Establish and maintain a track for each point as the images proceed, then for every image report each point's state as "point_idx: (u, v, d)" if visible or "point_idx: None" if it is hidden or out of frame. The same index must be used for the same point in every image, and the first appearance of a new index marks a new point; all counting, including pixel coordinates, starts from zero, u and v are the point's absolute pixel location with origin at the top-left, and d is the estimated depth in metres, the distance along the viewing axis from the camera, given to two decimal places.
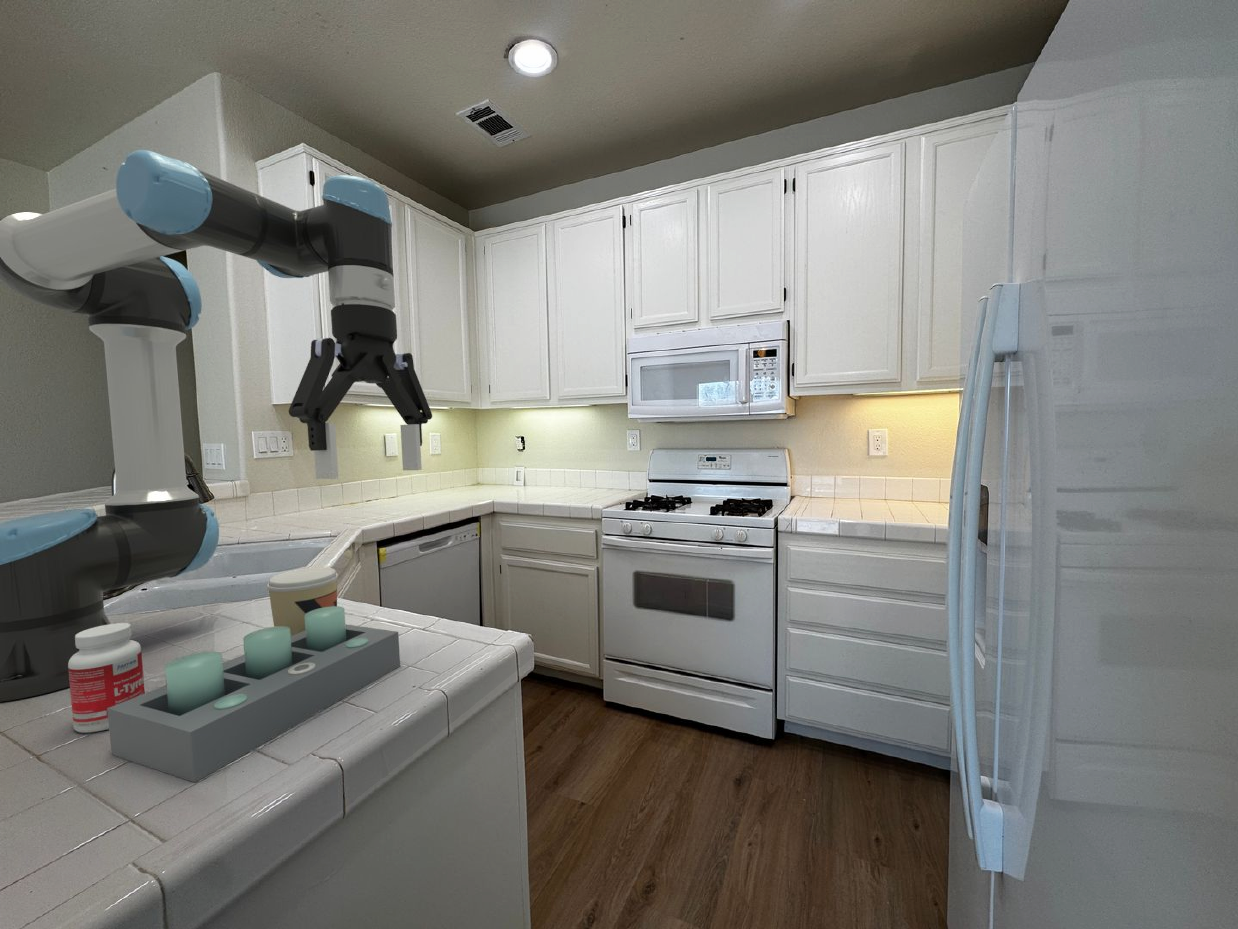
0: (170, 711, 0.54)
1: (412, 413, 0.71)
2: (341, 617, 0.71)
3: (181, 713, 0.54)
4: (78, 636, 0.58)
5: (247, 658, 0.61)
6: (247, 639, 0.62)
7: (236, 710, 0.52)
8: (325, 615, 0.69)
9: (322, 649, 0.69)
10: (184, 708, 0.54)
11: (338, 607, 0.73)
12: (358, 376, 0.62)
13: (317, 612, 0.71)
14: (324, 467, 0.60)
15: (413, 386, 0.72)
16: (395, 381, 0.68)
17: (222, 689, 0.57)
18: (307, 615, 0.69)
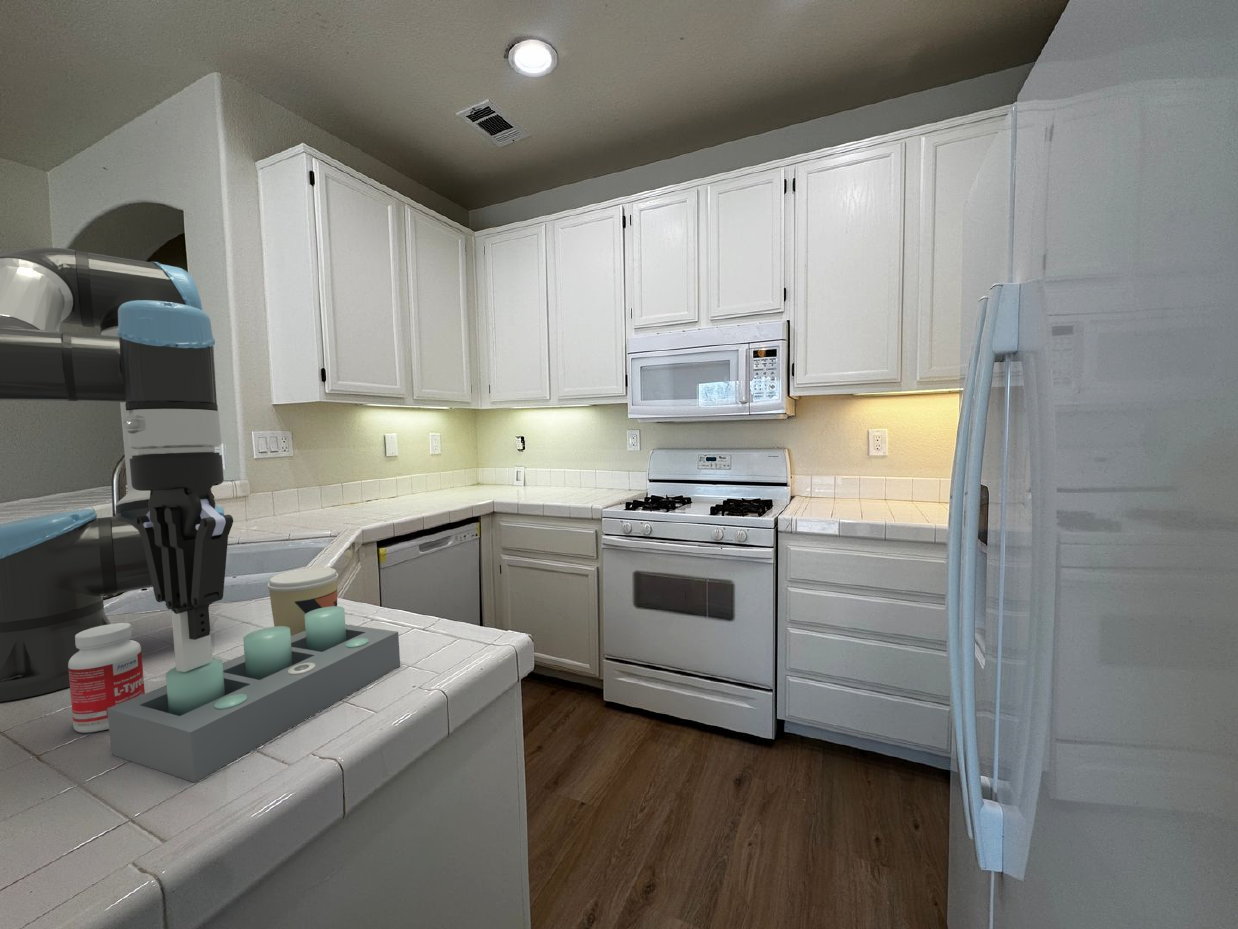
0: None
1: (180, 590, 0.54)
2: (341, 617, 0.71)
3: None
4: (78, 636, 0.58)
5: (247, 658, 0.61)
6: (247, 639, 0.62)
7: (236, 710, 0.52)
8: (325, 615, 0.69)
9: (322, 649, 0.69)
10: None
11: (338, 607, 0.73)
12: (160, 541, 0.54)
13: (317, 612, 0.71)
14: None
15: (195, 556, 0.53)
16: (170, 542, 0.53)
17: None
18: (307, 615, 0.69)
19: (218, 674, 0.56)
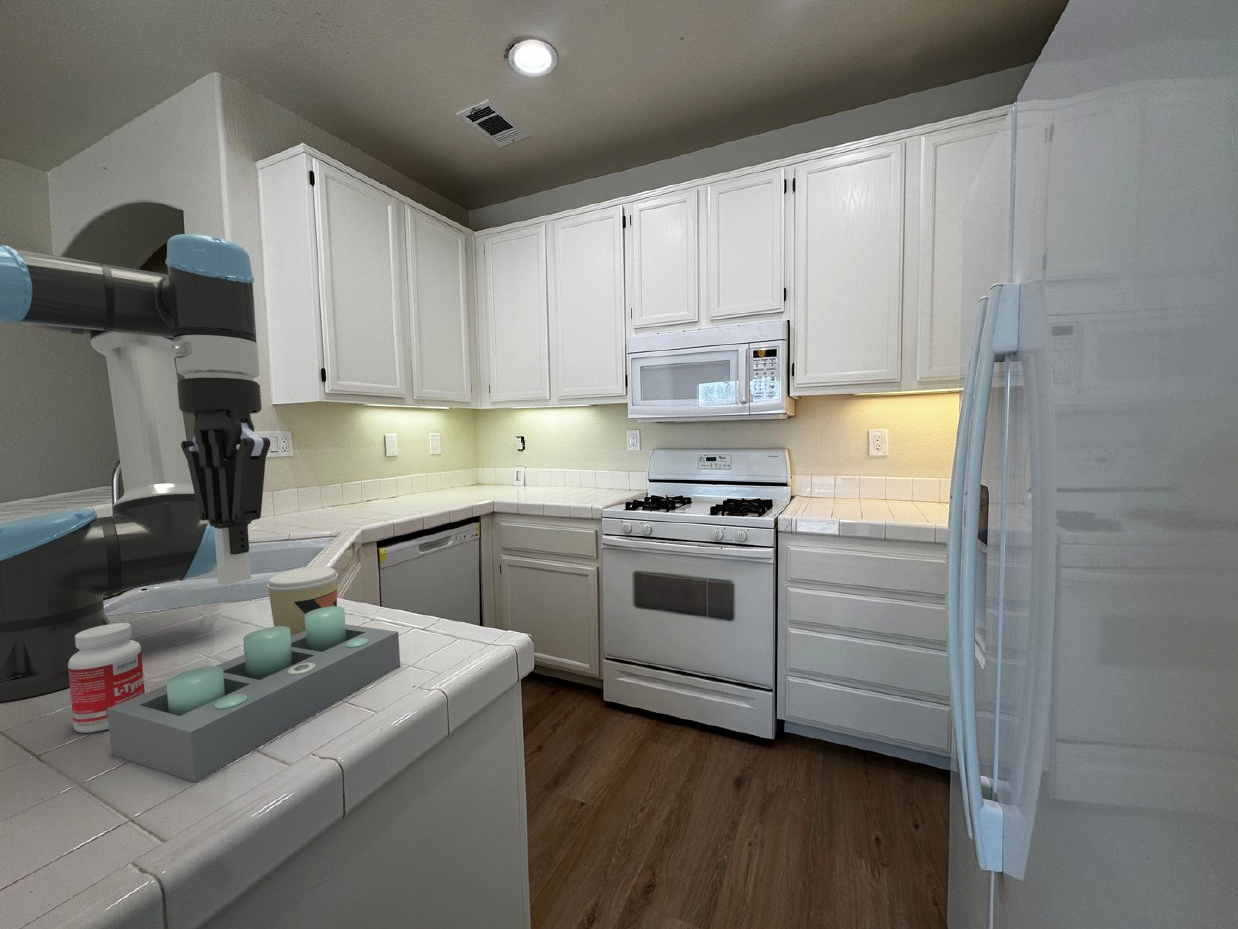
0: None
1: None
2: (341, 617, 0.71)
3: None
4: (78, 636, 0.58)
5: (247, 658, 0.61)
6: (247, 639, 0.62)
7: (236, 710, 0.52)
8: (325, 615, 0.69)
9: (322, 649, 0.69)
10: None
11: (338, 607, 0.73)
12: (204, 462, 0.58)
13: (317, 612, 0.71)
14: None
15: (236, 474, 0.57)
16: (213, 461, 0.57)
17: None
18: (307, 615, 0.69)
19: (219, 683, 0.56)
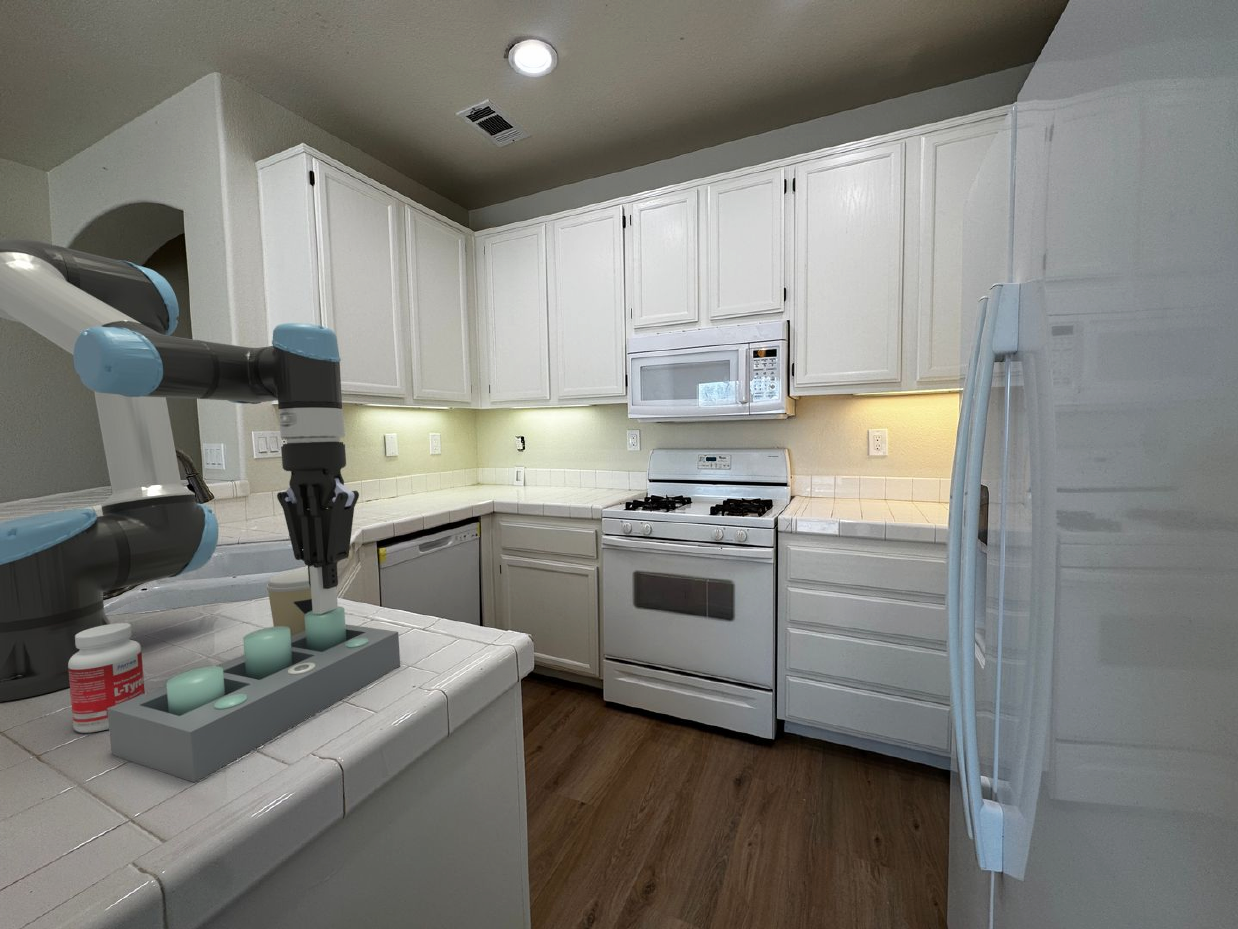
0: None
1: (317, 550, 0.69)
2: (341, 617, 0.71)
3: None
4: (78, 636, 0.58)
5: (247, 658, 0.61)
6: (247, 639, 0.62)
7: (236, 710, 0.52)
8: (325, 615, 0.69)
9: (322, 649, 0.69)
10: None
11: (338, 607, 0.73)
12: (301, 511, 0.69)
13: None
14: None
15: (331, 522, 0.68)
16: (311, 511, 0.68)
17: None
18: (307, 616, 0.69)
19: (219, 683, 0.56)
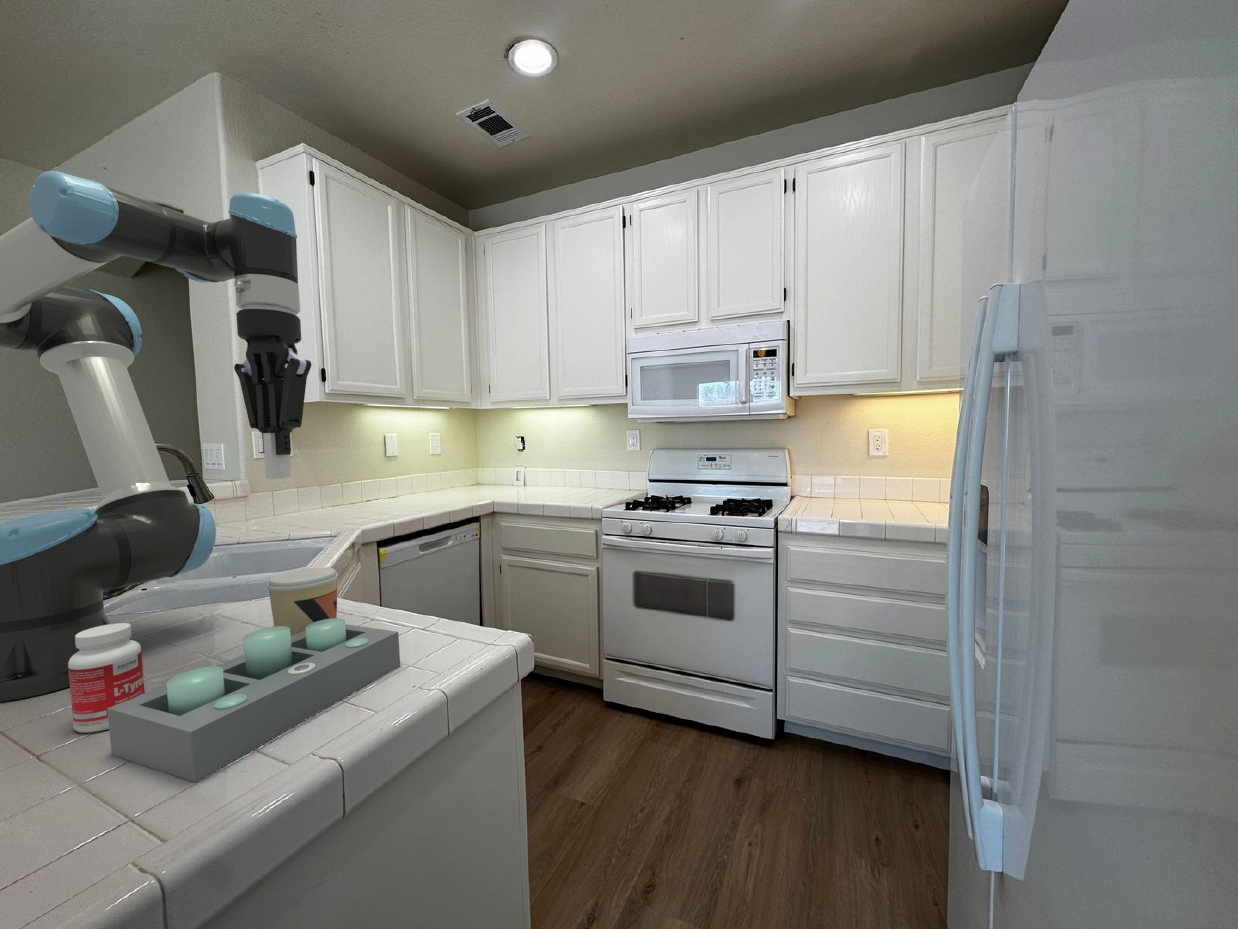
0: None
1: (270, 417, 0.72)
2: (342, 630, 0.71)
3: None
4: (78, 636, 0.58)
5: (247, 658, 0.61)
6: (247, 639, 0.62)
7: (236, 710, 0.52)
8: (326, 628, 0.70)
9: None
10: None
11: (339, 619, 0.73)
12: (256, 379, 0.72)
13: (318, 624, 0.71)
14: None
15: (284, 388, 0.71)
16: (264, 378, 0.71)
17: None
18: (308, 628, 0.70)
19: (219, 683, 0.56)
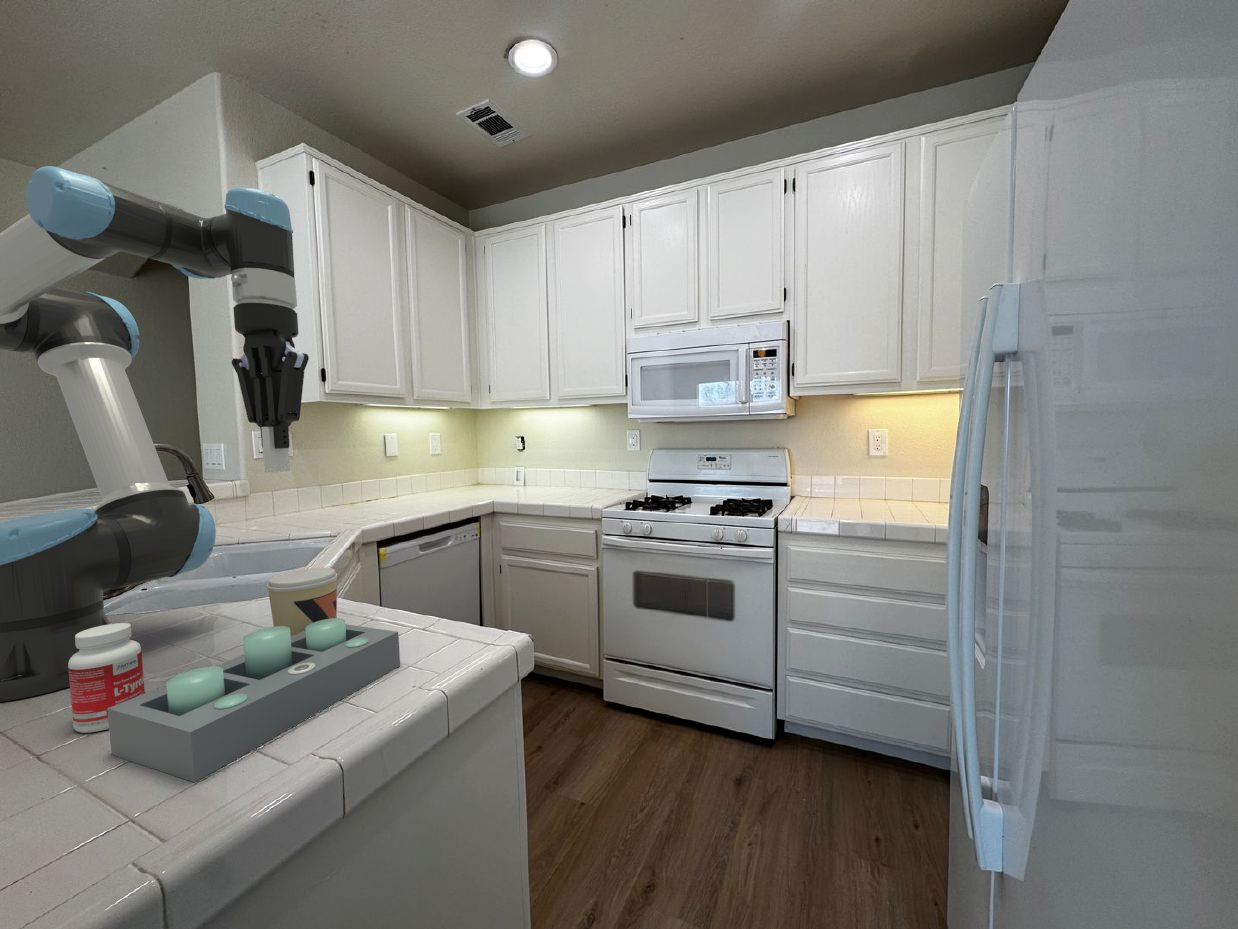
0: None
1: (269, 410, 0.72)
2: (342, 630, 0.71)
3: None
4: (78, 636, 0.58)
5: (247, 658, 0.61)
6: (247, 639, 0.62)
7: (236, 710, 0.52)
8: (326, 628, 0.70)
9: None
10: None
11: (339, 619, 0.73)
12: (254, 373, 0.72)
13: (318, 624, 0.71)
14: None
15: (281, 382, 0.71)
16: (262, 372, 0.71)
17: None
18: (308, 628, 0.70)
19: (219, 683, 0.56)
